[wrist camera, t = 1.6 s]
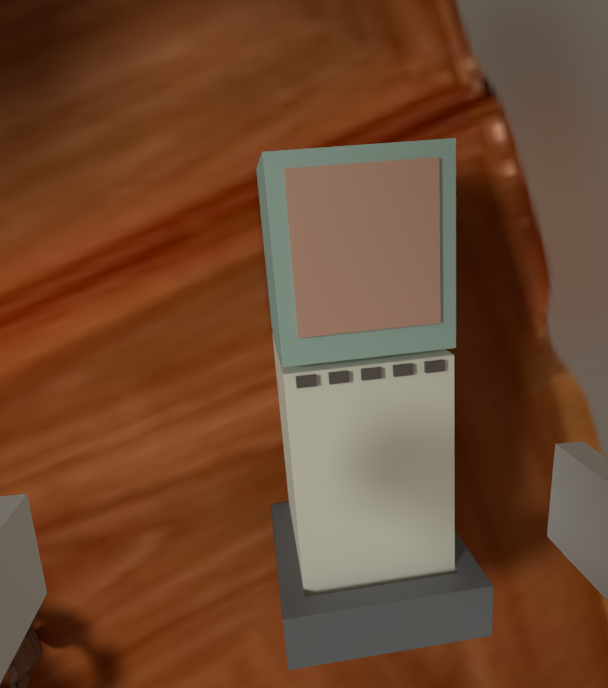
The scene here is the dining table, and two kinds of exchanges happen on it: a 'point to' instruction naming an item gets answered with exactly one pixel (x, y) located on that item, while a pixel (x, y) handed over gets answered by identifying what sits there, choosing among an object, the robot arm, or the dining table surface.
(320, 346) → the retro monitor box
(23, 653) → the brown hollow ring
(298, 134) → the dining table surface
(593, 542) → the robot arm
